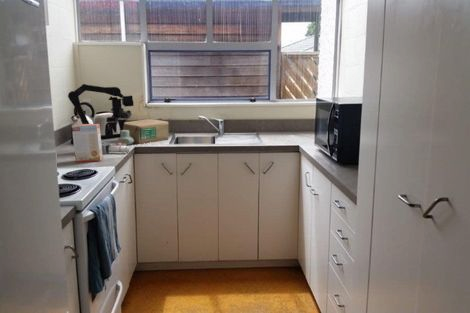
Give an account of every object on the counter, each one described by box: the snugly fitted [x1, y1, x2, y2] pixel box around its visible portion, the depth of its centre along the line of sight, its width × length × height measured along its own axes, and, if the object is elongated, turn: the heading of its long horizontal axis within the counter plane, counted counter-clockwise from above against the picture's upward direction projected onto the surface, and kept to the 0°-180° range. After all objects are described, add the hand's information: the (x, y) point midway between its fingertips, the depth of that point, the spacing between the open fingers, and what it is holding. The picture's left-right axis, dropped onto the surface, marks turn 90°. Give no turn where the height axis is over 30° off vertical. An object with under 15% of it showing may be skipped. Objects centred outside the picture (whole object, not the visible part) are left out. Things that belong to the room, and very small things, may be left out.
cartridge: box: [109, 145, 131, 153], centre depth 258 cm, size 12×4×4 cm, turn 81°
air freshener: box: [116, 130, 134, 146], centre depth 285 cm, size 11×8×10 cm
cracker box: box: [71, 123, 104, 163], centre depth 236 cm, size 14×6×21 cm, turn 92°
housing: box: [101, 142, 111, 155], centre depth 259 cm, size 6×8×6 cm
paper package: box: [120, 118, 170, 145], centre depth 303 cm, size 27×26×14 cm
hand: (118, 131), depth 267 cm, fingers open, 9 cm apart
